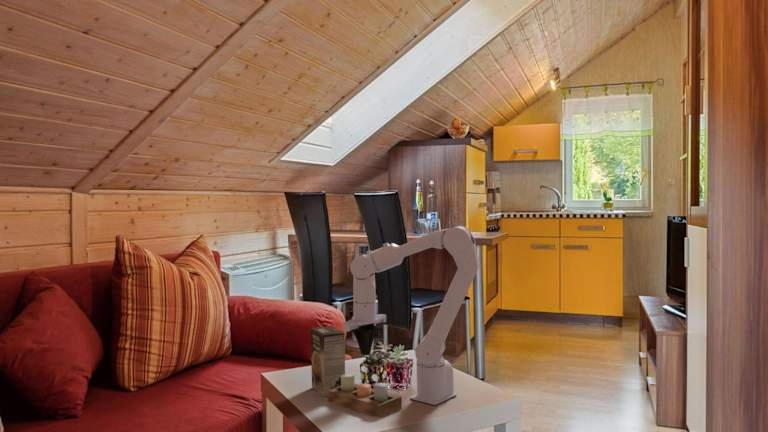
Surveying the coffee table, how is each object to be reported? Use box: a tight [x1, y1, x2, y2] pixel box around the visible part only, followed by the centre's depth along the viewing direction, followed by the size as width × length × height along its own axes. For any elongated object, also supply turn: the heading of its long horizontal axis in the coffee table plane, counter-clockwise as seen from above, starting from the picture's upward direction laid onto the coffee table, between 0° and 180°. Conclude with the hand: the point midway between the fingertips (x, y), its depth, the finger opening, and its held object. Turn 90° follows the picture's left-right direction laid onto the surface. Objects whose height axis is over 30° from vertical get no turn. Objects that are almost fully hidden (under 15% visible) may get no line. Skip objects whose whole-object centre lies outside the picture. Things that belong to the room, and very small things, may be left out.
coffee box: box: [310, 325, 346, 398], centre depth 155 cm, size 9×6×16 cm
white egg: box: [373, 382, 389, 403], centre depth 140 cm, size 3×3×4 cm
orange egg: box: [357, 383, 372, 398], centre depth 144 cm, size 3×3×4 cm
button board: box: [327, 383, 403, 418], centre depth 144 cm, size 17×8×3 cm, turn 48°
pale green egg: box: [341, 373, 356, 393], centre depth 147 cm, size 3×3×4 cm
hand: (365, 354), depth 151 cm, fingers closed
